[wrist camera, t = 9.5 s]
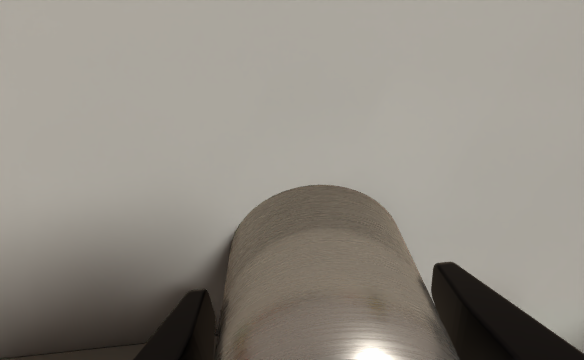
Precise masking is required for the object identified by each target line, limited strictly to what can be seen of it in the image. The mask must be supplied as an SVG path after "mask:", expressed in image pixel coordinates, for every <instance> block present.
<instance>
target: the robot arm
mask: <svg viewBox="0 0 584 360" xmlns="http://www.w3.org/2000/svg"><path fill="white" fill-rule="evenodd" d="M431 292H432V298H433V301H434V304H435V307H436V310H437V312H438V314H439V316H440V318H441V320H442V322H443V325H444V327H445V329H446V331H447V333H448V335H449V337H450V339H451V342H452V344H453V346H454V348H455V350H456V352H457V354H458V356H459V359H460V360H584V353H582V352H581V351H579V350H578V349H576V348H575V347H574V346H572V345H571V344H569V343H568V342H566V341H565V340H564V339H562V338H561V337H559V336H558V335H556V334H555V333H554V332H552V331H551V330H549V329H548V328H546V327H545V326H544V325H542V324H541V323H539V322H538V321H536V320H535V319H534V318H532V317H531V316H529V315H528V314H527V313H525V312H524V311H522V310H521V309H519V308H518V307H517V306H515V305H514V304H512V303H511V302H509V301H508V300H507V299H505V298H504V297H502V296H501V295H499V294H498V293H497V292H495V291H494V290H492V289H491V288H489V287H488V286H487V285H485V284H484V283H482V282H481V281H479V280H478V279H477V278H475V277H474V276H472V275H471V274H469V273H468V272H467V271H465V270H464V269H462V268H461V267H460V266H458V265H457V264H455V263H453V262H443V263H437V264H435V265H434V268H433V276H432V286H431ZM214 335H215V313H214V309H213V306H212V303H211V299H210V296H209V293H208V291H207V290H206V289H198V290H191V291H189V292H188V293H187V294H186V295H185V296H184V298H183V299H182V300H181V301H180V302H179V304H178V305H177V306H176V307H175V309H174V310H173V311H172V312H171V313H170V315H169V316H168V317H167V318H166V320H165V321H164V322H163V323H162V324H161V326H160V327H159V328H158V329H157V331H156V332H155V333H154V334H153V335H152V337H151V338H150V339H149V340H148V342H147V343H146V344H145V345H144V346H143V348H142V349H141V350H140V351H139V353H138V354H137V355H136V356H135V357H134V359H133V360H213V353H214Z"/></svg>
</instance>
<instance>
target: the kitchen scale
mask: <svg viewBox="0 0 584 360" xmlns="http://www.w3.org/2000/svg"><path fill="white" fill-rule="evenodd" d="M216 343H217V336H214V353H213V360H214V356H215V350H216ZM144 345H145V344H137V345H128V346H119V347H110V348H101V349H91V350H82V351H73V352H64V353H55V354H46V355H36V356H27V357H18V358H9V359H0V360H133V359H134V357H135V356H136V355H137V354H138V353H139V351H140V350H141V349H142V348H143V346H144Z"/></svg>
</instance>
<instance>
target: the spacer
mask: <svg viewBox="0 0 584 360" xmlns="http://www.w3.org/2000/svg"><path fill="white" fill-rule="evenodd" d="M214 360H460V359H459V356H458V354H457V352H456V350H455V348H454V346H453V344H452V342H451V339H450V337H449V335H448V333H447V331H446V329H445V327H444V325H443V322H442V320H441V318H440V316H439V314H438V312H437V310H436V307H435V305H434V303H433V301H432V299H431V297H430V295H429V293H428V290H427V288H426V286H425V284H424V282H423V280H422V278H421V276H420V273H419V271H418V269H417V267H416V265H415V263H414V261H413V259H412V256H411V254H410V252H409V250H408V248H407V246H406V244H405V242H404V239H403V237H402V235H401V233H400V231H399V229H398V227H397V225H396V223H395V221H394V219H393V218H392V216H391V215H390V214H389V212H388V211H387V210H386V209H385V208H384V207H383V206H382V205H380V204H379V203H378V202H377V201H375V200H374V199H372V198H371V197H369V196H367V195H365V194H363V193H361V192H358V191H356V190H352V189H349V188H345V187H340V186H334V185H309V186H303V187H297V188H294V189H290V190H287V191H284V192H281V193H279V194H277V195H274V196H272V197H271V198H269V199H267V200H265V201H263V202H262V203H261V204H259V205H258V206H257V207H255V208H254V209H253V210H252V211H251V212H250V213H249V214H248V215H247V216H246V217H245V218H244V220H243V221H242V222H241V224H240V225H239V227H238V229H237V230H236V232H235V235H234V237H233V240H232V244H231V249H230V256H229V263H228V269H227V276H226V283H225V289H224V296H223V303H222V309H221V316H220V323H219V329H218V336H217V343H216V350H215V356H214Z"/></svg>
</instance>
